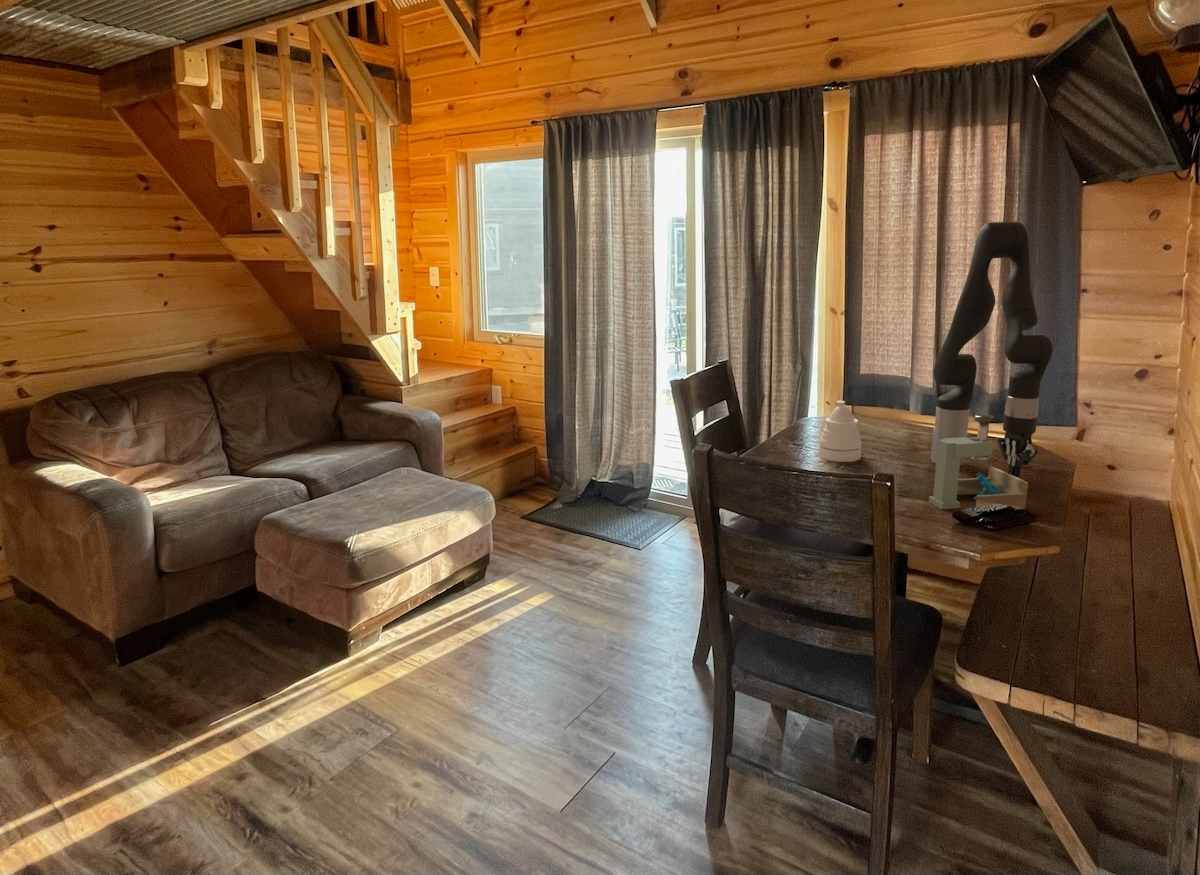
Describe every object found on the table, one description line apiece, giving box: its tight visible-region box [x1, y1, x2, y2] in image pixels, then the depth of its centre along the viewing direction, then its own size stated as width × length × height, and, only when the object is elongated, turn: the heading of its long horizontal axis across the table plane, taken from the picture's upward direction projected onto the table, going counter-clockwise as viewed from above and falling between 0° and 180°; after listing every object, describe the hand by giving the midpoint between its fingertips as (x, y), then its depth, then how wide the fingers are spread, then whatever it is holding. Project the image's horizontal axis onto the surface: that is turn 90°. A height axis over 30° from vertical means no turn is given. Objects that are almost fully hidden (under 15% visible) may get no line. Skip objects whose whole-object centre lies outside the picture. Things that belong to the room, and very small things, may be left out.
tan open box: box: [957, 466, 1029, 510], centre depth 208 cm, size 14×13×7 cm
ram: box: [970, 413, 995, 462], centre depth 204 cm, size 4×4×11 cm
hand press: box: [928, 436, 994, 510], centre depth 206 cm, size 6×13×17 cm, turn 98°
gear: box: [973, 472, 1000, 502], centre depth 209 cm, size 11×6×10 cm
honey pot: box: [817, 400, 862, 463], centre depth 251 cm, size 13×13×18 cm
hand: (1013, 478), depth 208 cm, fingers closed
